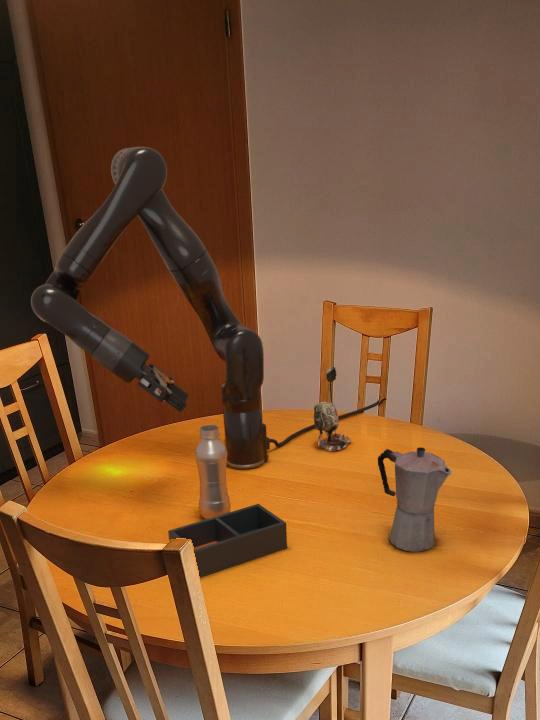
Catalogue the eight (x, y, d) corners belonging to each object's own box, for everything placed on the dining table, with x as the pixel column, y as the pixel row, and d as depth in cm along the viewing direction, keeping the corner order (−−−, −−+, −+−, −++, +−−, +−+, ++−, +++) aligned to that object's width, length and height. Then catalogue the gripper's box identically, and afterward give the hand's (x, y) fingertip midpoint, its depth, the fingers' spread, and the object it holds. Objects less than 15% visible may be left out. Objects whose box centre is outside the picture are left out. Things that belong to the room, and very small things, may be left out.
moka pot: (437, 561, 148) (443, 463, 139) (363, 542, 155) (364, 447, 146) (456, 540, 155) (463, 445, 146) (384, 523, 162) (387, 431, 153)
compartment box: (170, 556, 152) (168, 530, 150) (259, 528, 162) (258, 503, 159) (195, 579, 144) (192, 552, 142) (287, 548, 154) (286, 522, 151)
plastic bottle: (199, 511, 170) (192, 423, 161) (231, 509, 170) (225, 421, 161) (199, 525, 164) (191, 434, 155) (231, 522, 164) (225, 432, 155)
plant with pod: (304, 447, 201) (302, 370, 192) (337, 436, 207) (337, 361, 198) (324, 456, 195) (324, 377, 186) (358, 445, 201) (359, 368, 192)
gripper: (127, 346, 153) (195, 396, 157) (134, 336, 166) (197, 382, 171) (105, 376, 155) (172, 426, 159) (114, 364, 168) (176, 409, 172)
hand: (185, 403), depth 165 cm, fingers open, 8 cm apart
